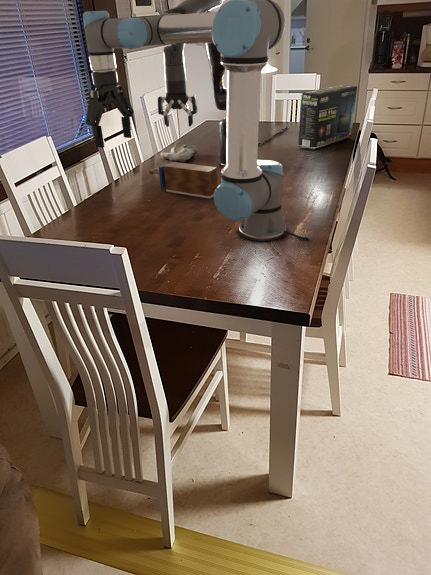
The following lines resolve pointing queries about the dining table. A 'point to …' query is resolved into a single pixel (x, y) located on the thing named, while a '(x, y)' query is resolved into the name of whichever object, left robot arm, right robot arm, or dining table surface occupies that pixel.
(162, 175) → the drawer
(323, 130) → the router box
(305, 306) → the dining table surface
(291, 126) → the dining table surface
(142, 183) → the dining table surface
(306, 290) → the dining table surface
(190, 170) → the brown rectangular box
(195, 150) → the fossil
